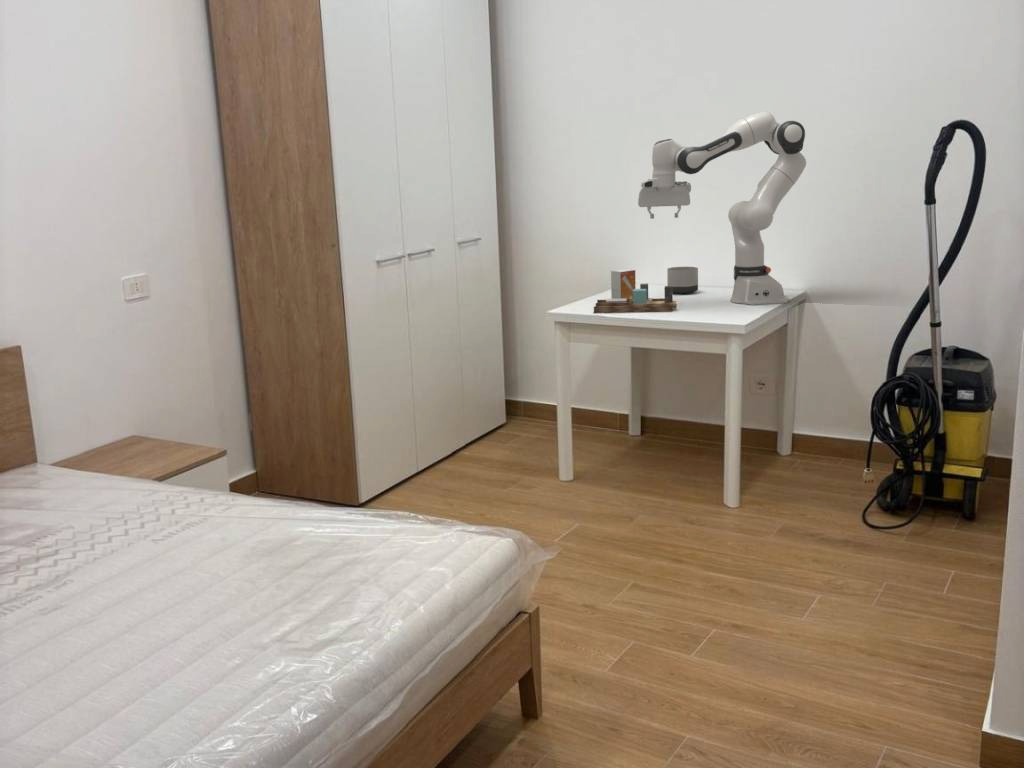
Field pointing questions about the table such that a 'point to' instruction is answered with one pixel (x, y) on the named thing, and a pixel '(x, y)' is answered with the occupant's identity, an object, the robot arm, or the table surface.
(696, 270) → the planter
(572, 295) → the table surface
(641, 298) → the teal cube
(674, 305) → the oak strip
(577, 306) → the table surface
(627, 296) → the small box
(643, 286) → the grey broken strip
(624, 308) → the lane board
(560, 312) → the table surface
